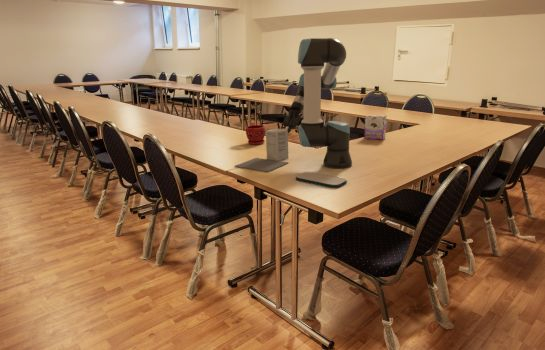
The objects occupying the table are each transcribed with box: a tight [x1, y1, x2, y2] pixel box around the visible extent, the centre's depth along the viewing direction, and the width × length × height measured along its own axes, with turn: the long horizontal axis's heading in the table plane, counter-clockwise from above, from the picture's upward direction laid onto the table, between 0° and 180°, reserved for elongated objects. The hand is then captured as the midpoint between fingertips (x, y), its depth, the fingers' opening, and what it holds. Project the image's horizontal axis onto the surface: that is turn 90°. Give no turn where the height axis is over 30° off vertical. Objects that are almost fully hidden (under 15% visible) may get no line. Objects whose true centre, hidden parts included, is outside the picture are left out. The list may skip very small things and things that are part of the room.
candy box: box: [363, 114, 387, 141], centre depth 267 cm, size 14×6×16 cm, turn 58°
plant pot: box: [245, 124, 266, 146], centre depth 262 cm, size 13×13×12 cm
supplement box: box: [265, 128, 289, 161], centre depth 220 cm, size 10×9×17 cm
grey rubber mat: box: [234, 157, 289, 173], centre depth 209 cm, size 22×20×1 cm
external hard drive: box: [295, 171, 348, 189], centre depth 179 cm, size 24×12×2 cm, turn 51°
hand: (284, 136), depth 225 cm, fingers closed
